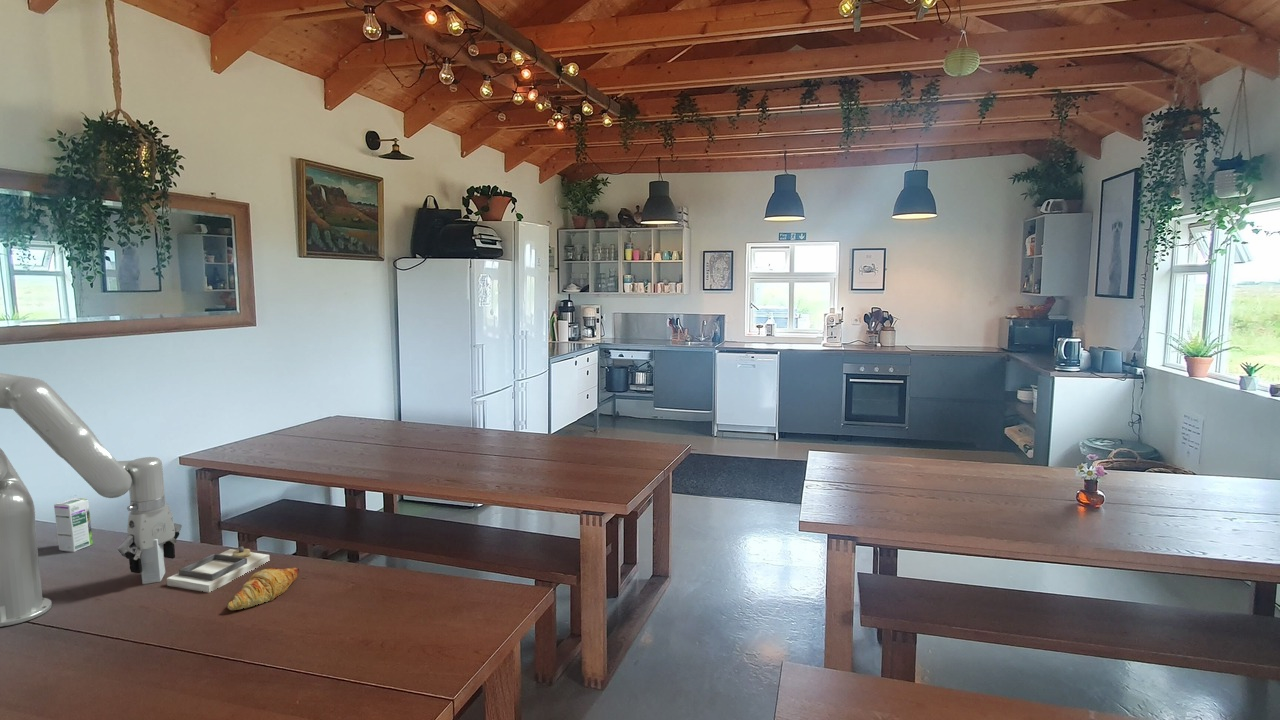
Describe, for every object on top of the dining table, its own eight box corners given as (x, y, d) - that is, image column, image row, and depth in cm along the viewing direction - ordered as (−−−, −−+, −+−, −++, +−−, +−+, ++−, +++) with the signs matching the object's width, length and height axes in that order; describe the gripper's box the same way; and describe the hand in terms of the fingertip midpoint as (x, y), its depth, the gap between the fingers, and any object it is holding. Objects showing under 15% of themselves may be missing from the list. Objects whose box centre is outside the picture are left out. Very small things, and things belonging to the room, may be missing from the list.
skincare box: (147, 575, 183) (143, 533, 182) (165, 572, 185) (162, 531, 184) (141, 584, 178) (138, 542, 176) (160, 582, 180) (157, 539, 178)
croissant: (239, 629, 164) (249, 605, 162) (210, 605, 166) (219, 581, 163) (305, 589, 184) (315, 567, 182) (279, 568, 186) (288, 546, 184)
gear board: (209, 592, 174) (208, 576, 174) (167, 585, 178) (165, 569, 177) (269, 561, 194) (268, 546, 193) (230, 555, 197) (229, 540, 197)
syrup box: (74, 552, 197) (69, 505, 195) (58, 550, 198) (53, 503, 197) (93, 544, 203) (89, 498, 201) (77, 543, 204) (73, 497, 202)
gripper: (126, 516, 170) (132, 580, 172) (188, 495, 186) (193, 553, 189) (104, 513, 172) (110, 577, 174) (167, 492, 188) (172, 550, 190)
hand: (153, 564), depth 181 cm, fingers open, 9 cm apart
